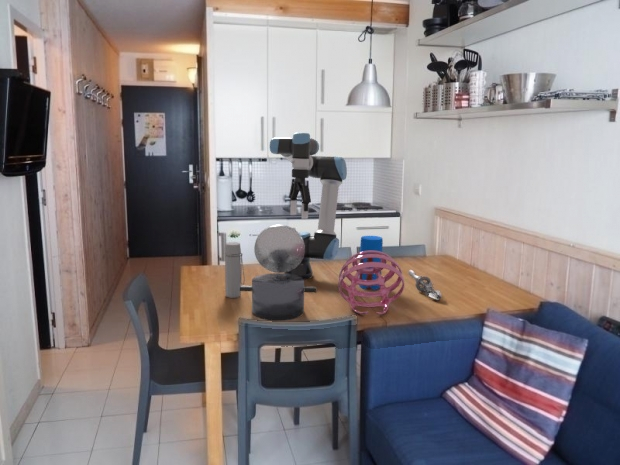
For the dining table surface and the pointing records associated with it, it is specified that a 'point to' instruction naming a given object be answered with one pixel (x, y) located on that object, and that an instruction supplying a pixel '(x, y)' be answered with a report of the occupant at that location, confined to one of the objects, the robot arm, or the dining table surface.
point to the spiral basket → (379, 281)
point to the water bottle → (233, 269)
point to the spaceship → (425, 286)
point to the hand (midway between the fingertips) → (298, 216)
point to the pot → (277, 296)
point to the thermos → (367, 245)
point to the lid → (279, 248)
